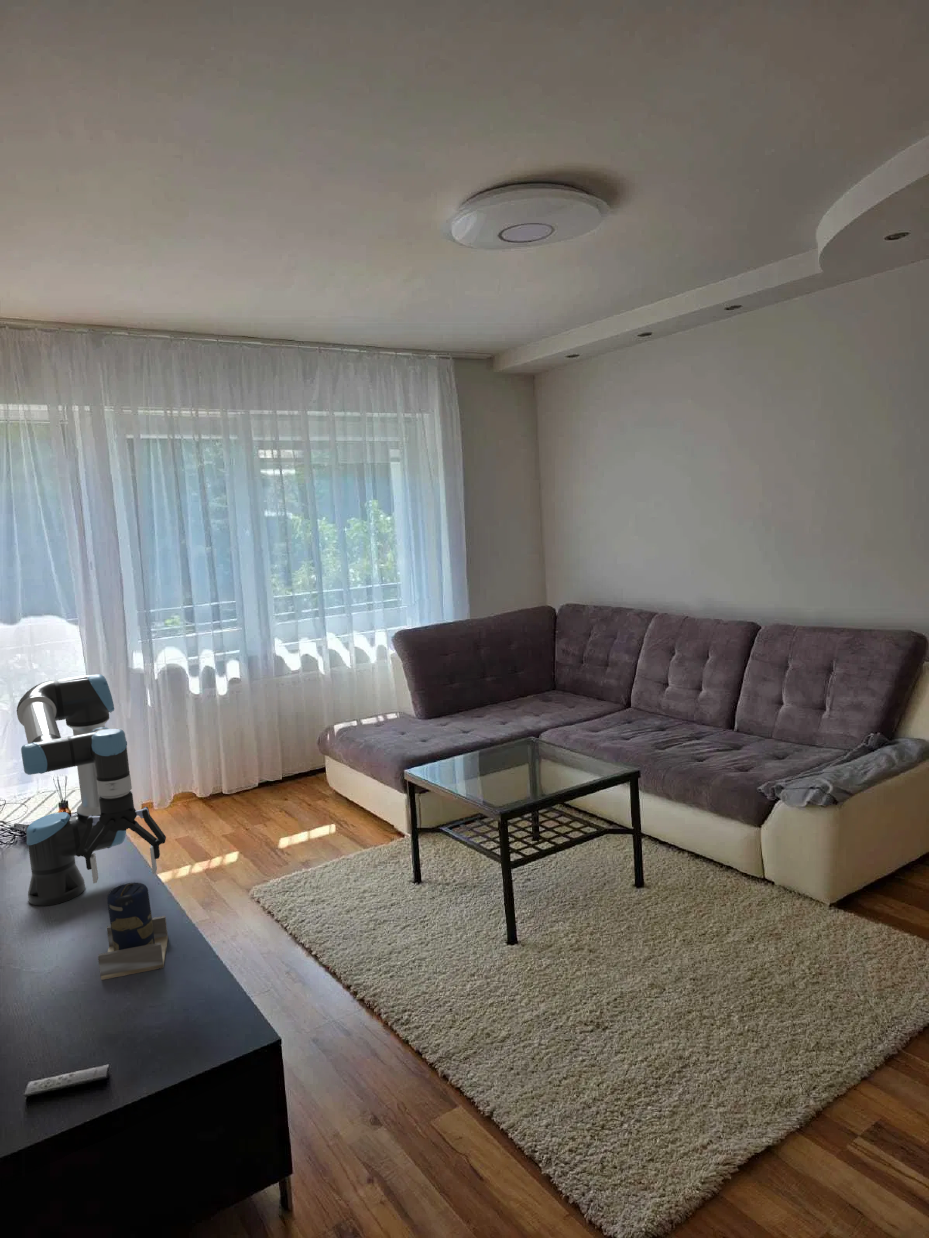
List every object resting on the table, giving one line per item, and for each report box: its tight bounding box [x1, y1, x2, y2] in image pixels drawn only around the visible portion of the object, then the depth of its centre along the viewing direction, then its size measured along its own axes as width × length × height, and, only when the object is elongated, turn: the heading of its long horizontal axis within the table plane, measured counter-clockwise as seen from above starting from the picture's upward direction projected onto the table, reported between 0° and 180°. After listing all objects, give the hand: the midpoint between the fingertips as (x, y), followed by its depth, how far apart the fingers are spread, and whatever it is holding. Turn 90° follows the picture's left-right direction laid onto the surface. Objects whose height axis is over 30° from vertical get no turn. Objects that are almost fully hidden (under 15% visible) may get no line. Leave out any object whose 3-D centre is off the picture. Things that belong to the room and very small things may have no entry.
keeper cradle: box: [97, 915, 169, 981], centre depth 205 cm, size 15×14×6 cm
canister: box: [106, 882, 155, 951], centre depth 204 cm, size 10×10×18 cm
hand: (125, 876), depth 203 cm, fingers open, 13 cm apart
